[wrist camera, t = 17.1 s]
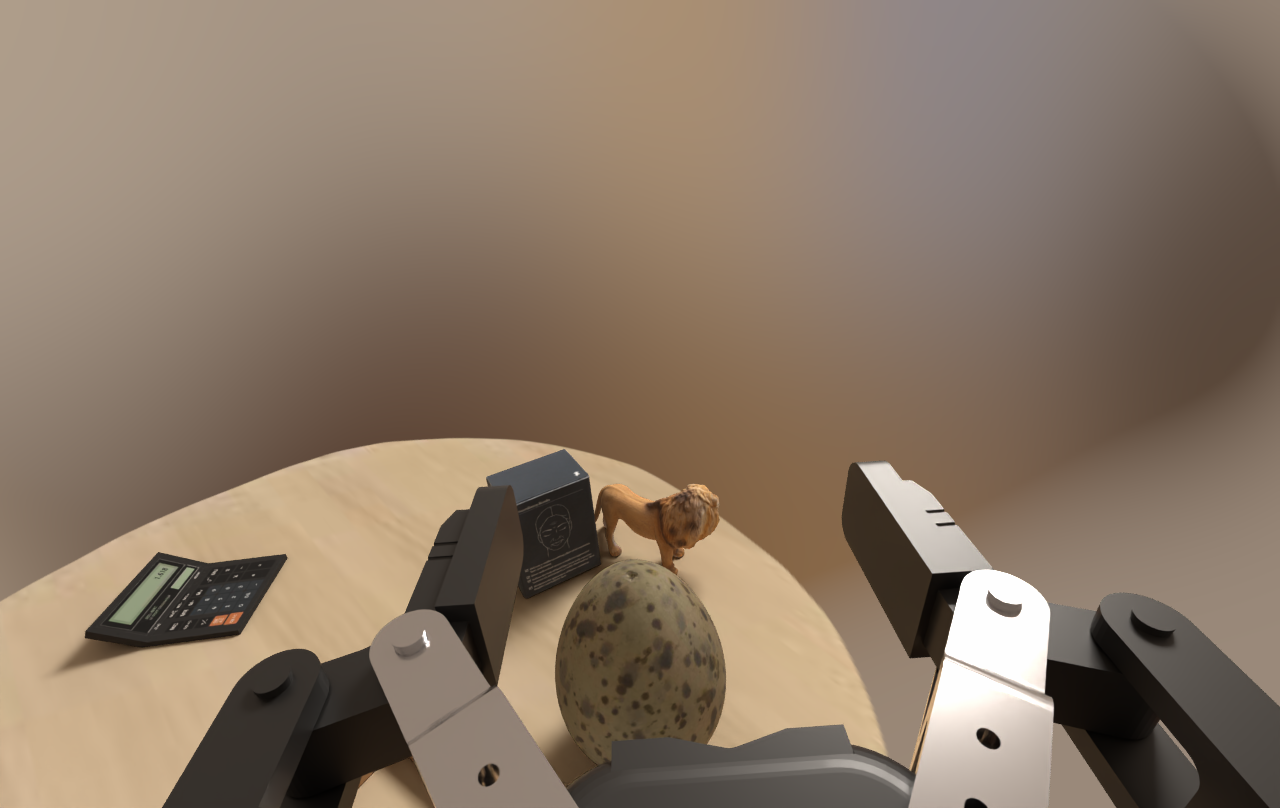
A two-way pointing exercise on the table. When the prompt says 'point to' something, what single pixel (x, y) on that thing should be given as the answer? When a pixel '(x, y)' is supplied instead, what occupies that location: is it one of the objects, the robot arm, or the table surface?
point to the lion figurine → (660, 518)
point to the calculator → (186, 601)
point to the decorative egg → (638, 661)
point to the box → (552, 520)
